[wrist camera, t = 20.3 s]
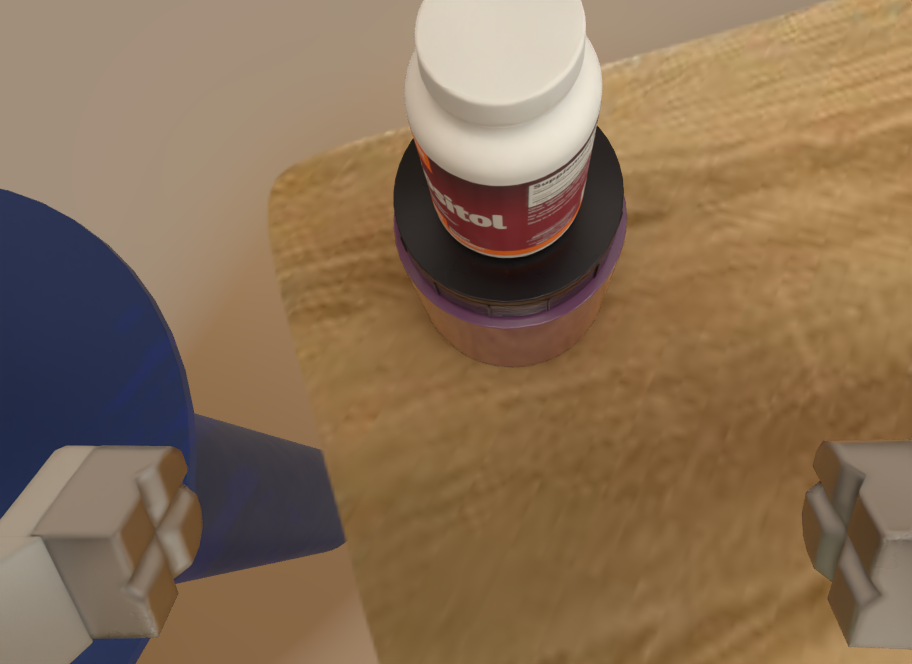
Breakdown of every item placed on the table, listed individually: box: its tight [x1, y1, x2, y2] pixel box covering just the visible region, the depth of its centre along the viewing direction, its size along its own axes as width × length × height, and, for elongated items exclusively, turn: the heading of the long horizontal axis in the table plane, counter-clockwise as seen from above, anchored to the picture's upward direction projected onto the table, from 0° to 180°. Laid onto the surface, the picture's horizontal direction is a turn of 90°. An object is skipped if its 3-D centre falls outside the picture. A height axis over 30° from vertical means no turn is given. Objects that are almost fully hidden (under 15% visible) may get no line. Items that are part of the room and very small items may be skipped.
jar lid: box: [394, 126, 624, 317], centre depth 32 cm, size 10×10×2 cm
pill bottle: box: [404, 0, 602, 258], centre depth 25 cm, size 6×6×11 cm
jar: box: [394, 197, 627, 367], centre depth 37 cm, size 10×10×11 cm
